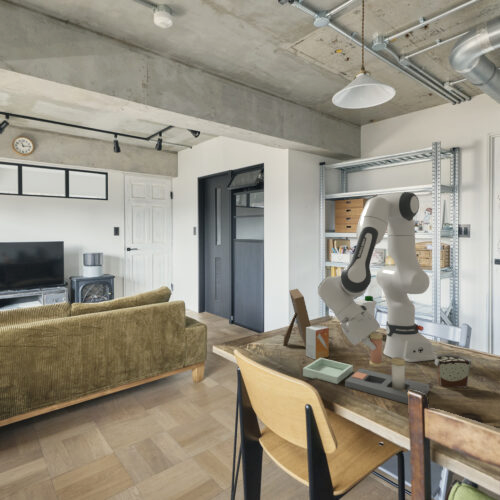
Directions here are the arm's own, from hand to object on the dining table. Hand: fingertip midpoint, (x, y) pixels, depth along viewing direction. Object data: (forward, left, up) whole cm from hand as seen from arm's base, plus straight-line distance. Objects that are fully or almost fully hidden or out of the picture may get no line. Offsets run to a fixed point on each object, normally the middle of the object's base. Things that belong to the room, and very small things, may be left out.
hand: (377, 346), depth 124 cm
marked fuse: (0, 0, -7) cm, 7 cm away
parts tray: (+15, -12, -15) cm, 24 cm away
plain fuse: (-5, +5, -14) cm, 16 cm away
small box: (+15, -32, -15) cm, 38 cm away
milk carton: (-17, -63, -15) cm, 67 cm away
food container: (-26, -2, -15) cm, 30 cm away
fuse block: (-2, +2, -15) cm, 15 cm away
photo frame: (+21, -52, -15) cm, 58 cm away
